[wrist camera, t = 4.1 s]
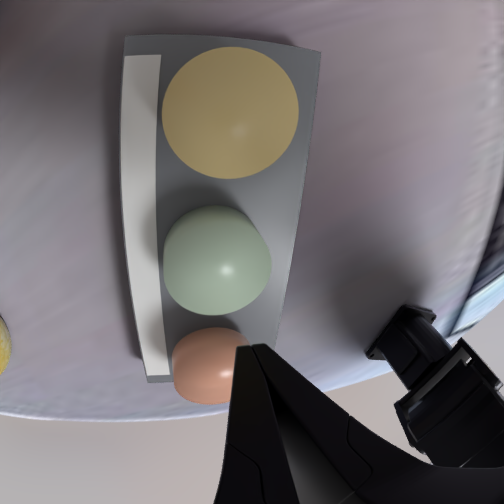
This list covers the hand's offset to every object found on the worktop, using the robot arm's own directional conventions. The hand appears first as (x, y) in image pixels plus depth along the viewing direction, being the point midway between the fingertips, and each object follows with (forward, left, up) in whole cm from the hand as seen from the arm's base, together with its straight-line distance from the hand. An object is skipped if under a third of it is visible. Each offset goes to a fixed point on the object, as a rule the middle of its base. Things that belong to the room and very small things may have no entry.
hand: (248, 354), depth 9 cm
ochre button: (+2, -6, -7) cm, 9 cm away
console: (0, +1, -10) cm, 10 cm away
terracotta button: (-3, +7, -7) cm, 11 cm away
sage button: (0, +1, -8) cm, 8 cm away
